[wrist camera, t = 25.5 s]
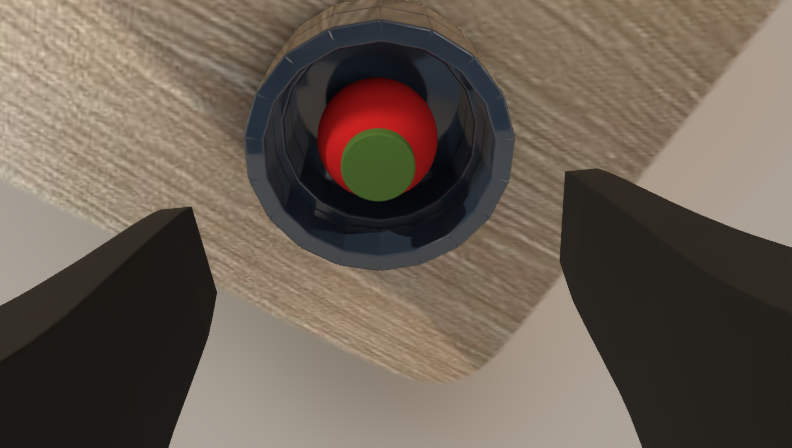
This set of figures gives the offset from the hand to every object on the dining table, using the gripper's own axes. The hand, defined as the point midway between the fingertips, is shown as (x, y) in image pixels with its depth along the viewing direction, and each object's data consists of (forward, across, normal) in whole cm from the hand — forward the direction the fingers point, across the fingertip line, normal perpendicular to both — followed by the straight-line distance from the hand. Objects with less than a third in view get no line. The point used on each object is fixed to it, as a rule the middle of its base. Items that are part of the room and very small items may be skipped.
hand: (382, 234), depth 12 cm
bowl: (+7, 0, 0) cm, 7 cm away
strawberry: (+7, 0, 0) cm, 7 cm away
